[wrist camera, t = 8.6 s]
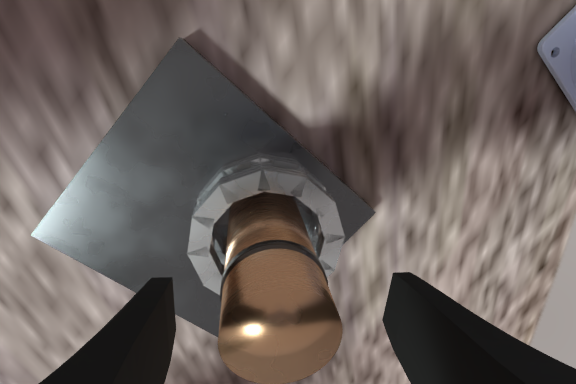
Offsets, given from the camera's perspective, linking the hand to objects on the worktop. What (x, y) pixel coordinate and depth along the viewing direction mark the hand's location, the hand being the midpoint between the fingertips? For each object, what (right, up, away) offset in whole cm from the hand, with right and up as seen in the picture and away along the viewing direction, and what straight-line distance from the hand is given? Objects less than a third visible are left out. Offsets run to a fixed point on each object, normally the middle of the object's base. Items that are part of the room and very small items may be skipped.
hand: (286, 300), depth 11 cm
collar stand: (-4, +2, +9) cm, 10 cm away
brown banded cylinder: (-1, +2, +8) cm, 8 cm away
